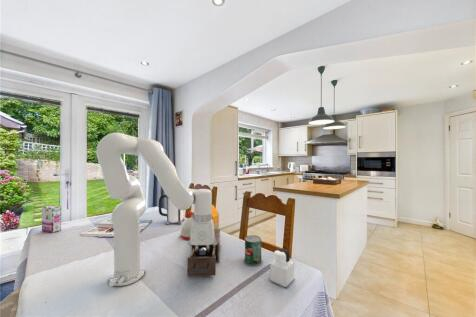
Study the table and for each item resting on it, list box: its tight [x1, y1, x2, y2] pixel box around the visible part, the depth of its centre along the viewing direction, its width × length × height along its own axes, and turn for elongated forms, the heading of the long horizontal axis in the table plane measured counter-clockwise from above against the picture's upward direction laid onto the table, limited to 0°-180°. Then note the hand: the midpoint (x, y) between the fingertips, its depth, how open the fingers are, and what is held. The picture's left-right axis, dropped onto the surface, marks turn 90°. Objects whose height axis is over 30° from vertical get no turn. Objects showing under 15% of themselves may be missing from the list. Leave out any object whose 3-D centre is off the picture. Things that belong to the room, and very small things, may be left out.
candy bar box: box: [41, 205, 62, 234], centre depth 134 cm, size 11×5×16 cm, turn 73°
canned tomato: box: [244, 234, 262, 267], centre depth 95 cm, size 8×8×11 cm
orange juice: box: [212, 204, 220, 229], centre depth 122 cm, size 8×9×20 cm
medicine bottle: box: [269, 248, 295, 288], centre depth 81 cm, size 7×7×12 cm
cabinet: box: [190, 228, 221, 263], centre depth 103 cm, size 18×13×9 cm
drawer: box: [186, 245, 217, 277], centre depth 88 cm, size 21×12×7 cm, turn 3°
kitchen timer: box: [180, 211, 194, 241], centre depth 127 cm, size 14×14×15 cm
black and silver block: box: [199, 247, 207, 257], centre depth 89 cm, size 7×4×4 cm, turn 3°
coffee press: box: [158, 194, 185, 225], centre depth 152 cm, size 17×16×30 cm
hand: (202, 258), depth 87 cm, fingers closed on black and silver block, 3 cm apart
